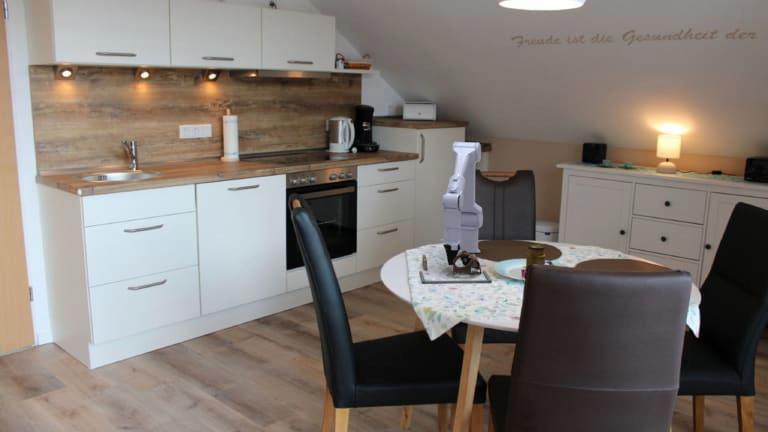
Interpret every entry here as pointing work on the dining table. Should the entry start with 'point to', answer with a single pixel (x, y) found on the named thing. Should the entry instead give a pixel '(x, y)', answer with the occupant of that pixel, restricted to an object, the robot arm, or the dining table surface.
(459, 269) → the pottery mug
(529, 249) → the condiment
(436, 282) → the frame
